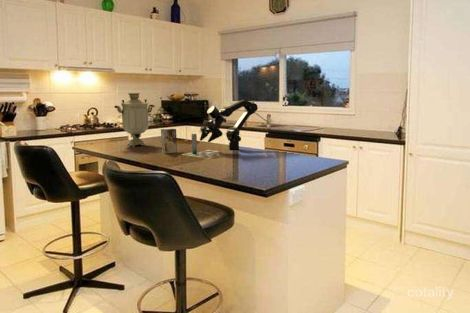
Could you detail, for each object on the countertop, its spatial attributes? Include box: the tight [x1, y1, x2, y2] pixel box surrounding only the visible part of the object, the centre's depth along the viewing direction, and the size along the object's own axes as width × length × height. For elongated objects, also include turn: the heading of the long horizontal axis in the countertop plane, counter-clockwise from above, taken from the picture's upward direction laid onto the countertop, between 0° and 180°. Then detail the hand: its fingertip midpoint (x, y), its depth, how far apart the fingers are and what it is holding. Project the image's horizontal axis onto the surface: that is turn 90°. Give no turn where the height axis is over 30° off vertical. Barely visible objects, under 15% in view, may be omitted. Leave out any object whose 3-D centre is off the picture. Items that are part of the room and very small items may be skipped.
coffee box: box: [160, 128, 178, 154], centre depth 273 cm, size 9×6×16 cm
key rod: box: [191, 133, 198, 154], centre depth 260 cm, size 3×3×13 cm
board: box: [181, 149, 222, 159], centre depth 256 cm, size 26×12×4 cm, turn 51°
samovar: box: [113, 92, 156, 148], centre depth 307 cm, size 30×26×40 cm
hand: (204, 141), depth 264 cm, fingers open, 9 cm apart
